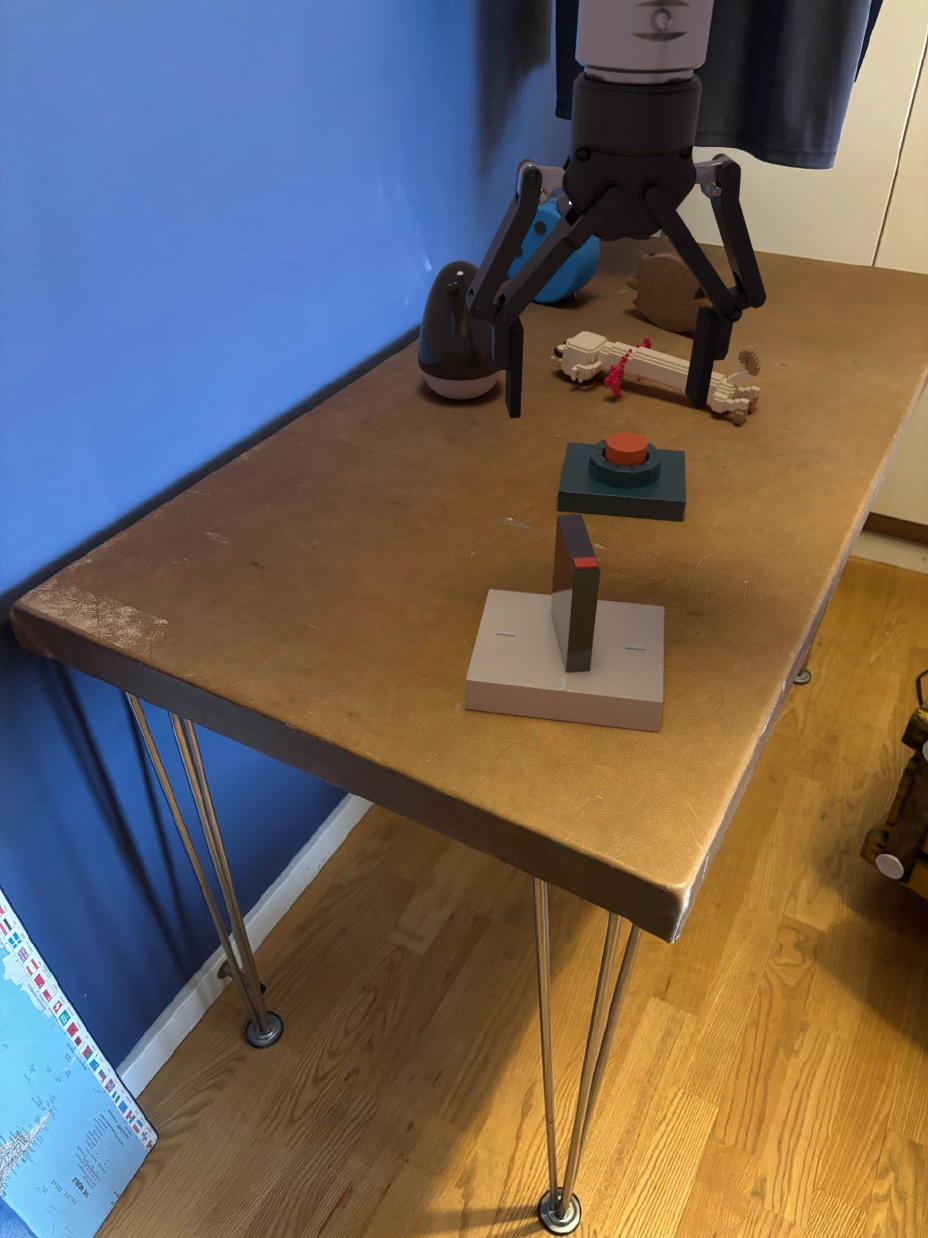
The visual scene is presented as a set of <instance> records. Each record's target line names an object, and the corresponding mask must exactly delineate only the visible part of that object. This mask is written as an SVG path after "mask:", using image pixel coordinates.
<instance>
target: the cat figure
mask: <svg viewBox="0 0 928 1238" xmlns="http://www.w3.org/2000/svg"><path fill="white" fill-rule="evenodd" d="M642 342H643V343H640V344H639V343H637V344H636V346H633V345H629V344H626V343H623V342H621V341H616V342H612V341H608V338H607V337H606V336H604V335H600V334H597V333H593V332H590V331H588V330H586V331H583V330H582V331H581V332H579V333H578V334H576V335H575V336H574V337H569V338H567V339H566V340H564V341H563V343H562V344H559V345H557V346H556V347H554V349H553V354H554V356H550V360H551V361H553V362H554V364H556V365H555V366H556V368H558V369H561V370H562V372H563V373H564V375H567V376H570V379H571V380H572V381H574V382H575V381H576V380H577V382H578V383H579V384H582V383H583V381H589V380H590V379H593V377H595V376H596V375H597V374H598V373H599V372H601V371H603V372H605V373H606V372H607V373H608V376H606V378H604V382H603V384H604V386H605V387H608V388H609V389H610V390H611V391H612V394H613V395H614V396H616V397H617V398H622V395H623V394H622V393H621V391H622V389H621V385H622V381H623V378H624V376H626V377H629V378H632V379H635V380H636V381H638V382H640V381H641V379H642V380H646V381H649V382H652V383H656V384H658V385H661V386H664V387H667V388H671V389H674V390H677V391H680V392H681V393H682V395H684V396H687V395H686V394H685V389H686V383H687V377H688V371H689V364H690V360H686V359H683V358H680V357H676V356H673V355H670V354H667V353H664V352H660V351H657V350H654V349H651V348H652V345H653V344H652V341H651V338H649V337H648V336H643V340H642ZM754 351H755V349H753V348H750V347H745V348H742V349H741V350H740V351H739V355H738V358H737V361H739V363H740V364H742V365H744V368H742V369H741V370H738V371H736V372H735V373H732V374H731V375H729V376H728V377H726V374H722V373H719V372H717V371H713V370H712V375H711V381H710V387H709V392H708V398H707V403H706V406H709V408H711V411H712V412H716V413H719V414H724V413H726V412H727V411H729V412H732V413H733V417H732V423H734V424H737V425H740V426H741V425H742V424H743V423H744V421H745V418H746V417H747V415H748V413H753V411H755V408H756V405H757V404H758V402H759V398H760V391H761V387H759V386H755V385H752V386H751V387H749V386H746V387H741V384H740V383H741V382H742V381H743V382H747V381H748V380H751V379H753V378H754V377H757V376H758V375H759V374H760V370H761V367H762V365H760V364H759V363H760V361H761V360H760V359H759V356H758V355H756V354H757V352H754ZM557 358H559V359H557Z"/></svg>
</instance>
